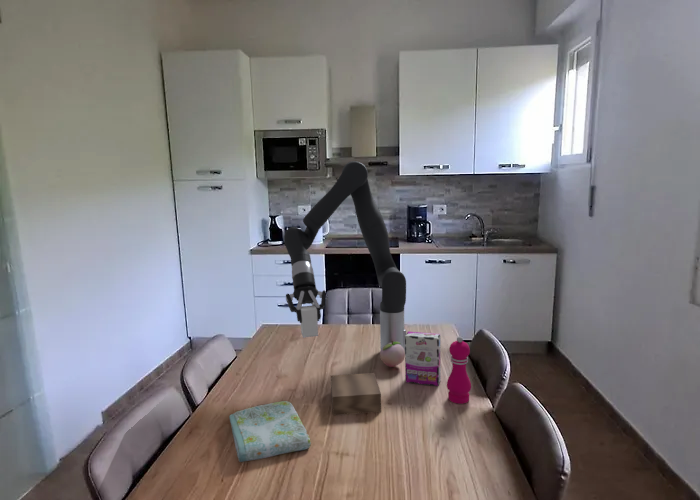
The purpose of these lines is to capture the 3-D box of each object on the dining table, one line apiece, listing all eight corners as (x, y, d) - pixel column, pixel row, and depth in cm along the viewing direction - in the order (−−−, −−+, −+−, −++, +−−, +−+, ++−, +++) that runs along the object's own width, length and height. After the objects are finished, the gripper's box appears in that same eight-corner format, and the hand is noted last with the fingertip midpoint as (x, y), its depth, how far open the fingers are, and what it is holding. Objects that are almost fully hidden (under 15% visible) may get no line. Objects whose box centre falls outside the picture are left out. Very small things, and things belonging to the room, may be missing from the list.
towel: (292, 411, 133) (291, 395, 132) (311, 451, 114) (311, 433, 113) (229, 424, 127) (227, 408, 126) (238, 470, 107) (237, 450, 107)
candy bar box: (440, 380, 150) (441, 333, 148) (438, 386, 146) (439, 338, 143) (407, 376, 154) (407, 330, 151) (404, 382, 149) (404, 335, 146)
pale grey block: (316, 330, 152) (314, 305, 150) (318, 335, 147) (316, 309, 145) (301, 332, 151) (299, 306, 149) (303, 337, 146) (301, 311, 144)
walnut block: (374, 390, 145) (374, 372, 144) (381, 412, 131) (380, 393, 130) (331, 393, 144) (330, 375, 143) (333, 416, 130) (332, 396, 129)
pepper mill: (468, 393, 141) (470, 332, 137) (472, 405, 134) (474, 341, 130) (445, 392, 141) (446, 332, 138) (448, 404, 134) (448, 340, 131)
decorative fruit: (396, 375, 155) (396, 347, 153) (376, 369, 160) (376, 342, 158) (409, 365, 162) (409, 339, 160) (390, 360, 167) (390, 334, 165)
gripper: (282, 272, 151) (287, 318, 142) (324, 269, 154) (332, 313, 145) (282, 284, 157) (287, 328, 148) (322, 281, 160) (330, 323, 151)
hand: (309, 320), depth 146 cm, fingers closed on pale grey block, 5 cm apart
